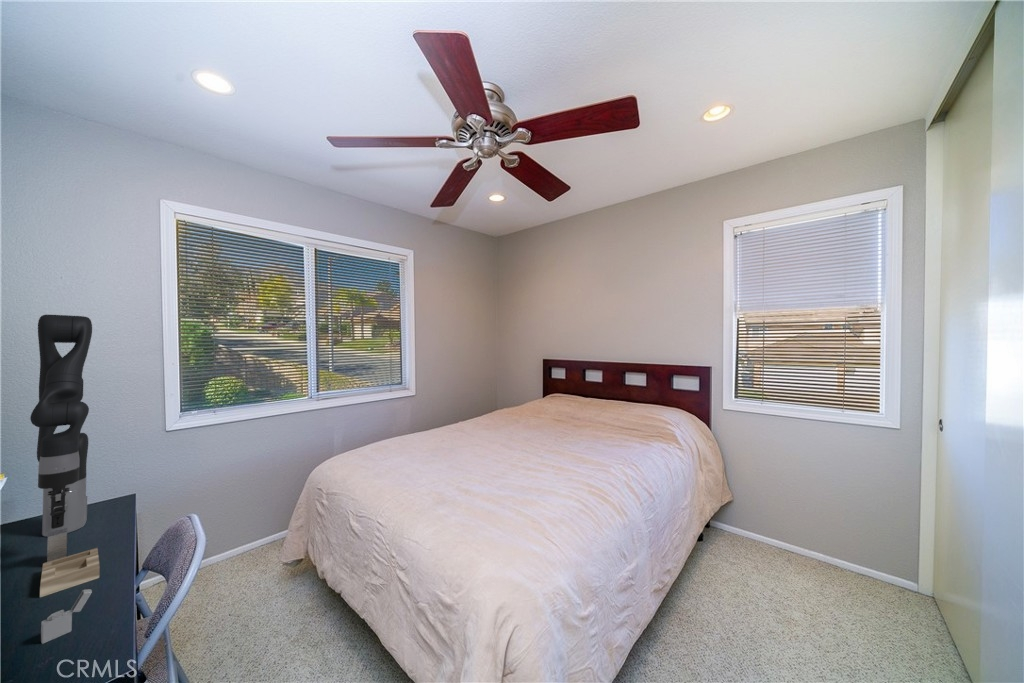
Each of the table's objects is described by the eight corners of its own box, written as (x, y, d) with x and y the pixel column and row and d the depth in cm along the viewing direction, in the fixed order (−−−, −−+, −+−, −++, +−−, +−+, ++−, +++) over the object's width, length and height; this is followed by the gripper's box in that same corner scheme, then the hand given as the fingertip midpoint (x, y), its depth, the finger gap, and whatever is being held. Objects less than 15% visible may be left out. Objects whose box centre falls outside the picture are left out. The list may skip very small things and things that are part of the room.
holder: (42, 573, 99) (43, 563, 99) (97, 557, 107) (97, 547, 107) (39, 597, 90) (40, 586, 90) (99, 577, 98) (99, 567, 98)
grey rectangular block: (47, 562, 104) (48, 532, 104) (66, 556, 107) (67, 527, 107) (46, 567, 102) (47, 536, 102) (66, 561, 104) (67, 531, 104)
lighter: (41, 644, 77) (42, 608, 77) (40, 640, 78) (41, 605, 78) (91, 622, 83) (92, 589, 83) (89, 619, 84) (90, 586, 84)
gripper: (79, 470, 103) (78, 525, 103) (79, 460, 111) (77, 510, 111) (36, 478, 97) (35, 536, 97) (39, 466, 106) (38, 519, 105)
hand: (57, 522), depth 104 cm, fingers open, 8 cm apart
